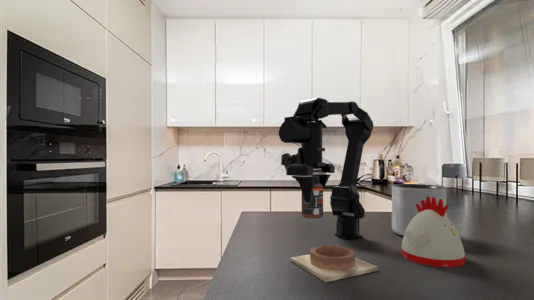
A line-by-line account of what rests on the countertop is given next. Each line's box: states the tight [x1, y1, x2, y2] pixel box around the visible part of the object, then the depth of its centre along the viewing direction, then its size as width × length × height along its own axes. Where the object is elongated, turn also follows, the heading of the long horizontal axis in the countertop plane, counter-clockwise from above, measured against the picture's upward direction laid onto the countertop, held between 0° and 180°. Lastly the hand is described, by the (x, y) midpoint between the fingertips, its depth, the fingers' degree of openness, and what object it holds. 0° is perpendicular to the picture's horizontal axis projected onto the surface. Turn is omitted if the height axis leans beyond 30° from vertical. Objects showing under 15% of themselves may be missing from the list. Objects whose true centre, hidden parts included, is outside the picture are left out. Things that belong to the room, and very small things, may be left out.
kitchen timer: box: [400, 196, 466, 268], centre depth 76 cm, size 14×14×15 cm
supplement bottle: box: [301, 176, 324, 219], centre depth 85 cm, size 6×6×11 cm
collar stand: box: [290, 244, 379, 283], centre depth 70 cm, size 14×14×3 cm
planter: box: [391, 183, 448, 237], centre depth 99 cm, size 16×16×16 cm
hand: (312, 200), depth 85 cm, fingers closed on supplement bottle, 6 cm apart
